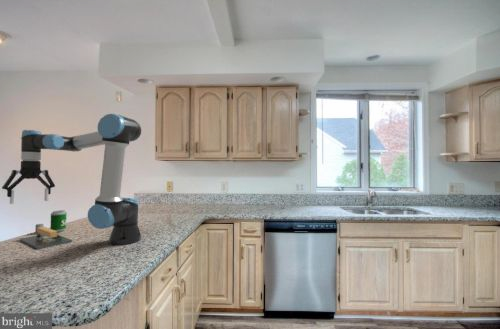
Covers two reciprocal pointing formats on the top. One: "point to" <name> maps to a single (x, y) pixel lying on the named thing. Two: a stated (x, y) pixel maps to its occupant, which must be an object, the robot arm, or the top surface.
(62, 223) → the soda can
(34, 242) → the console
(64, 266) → the top surface
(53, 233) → the bar
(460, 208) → the top surface
